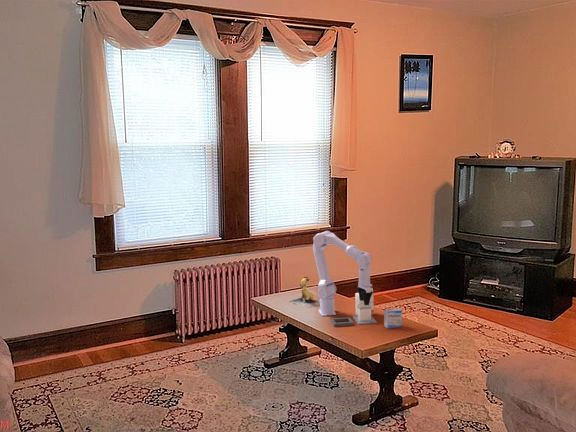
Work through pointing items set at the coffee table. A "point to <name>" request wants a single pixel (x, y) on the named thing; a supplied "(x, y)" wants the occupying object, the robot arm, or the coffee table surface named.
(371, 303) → the ink cartridge box
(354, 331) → the coffee table surface
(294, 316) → the coffee table surface
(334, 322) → the holder
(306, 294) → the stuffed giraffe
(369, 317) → the plug
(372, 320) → the slate board
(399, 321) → the medicine box
